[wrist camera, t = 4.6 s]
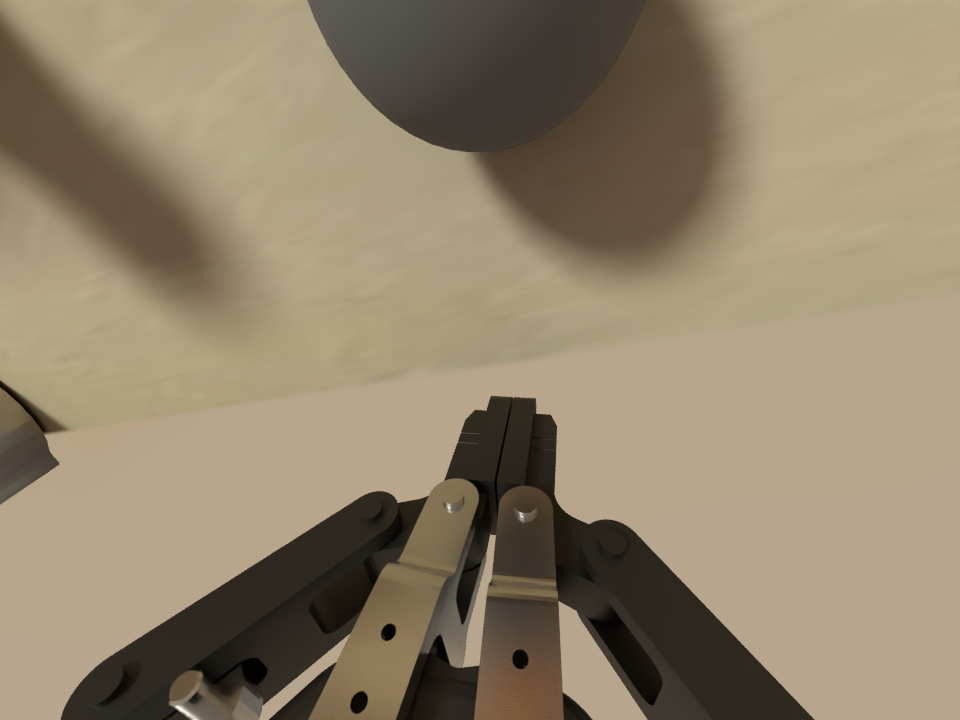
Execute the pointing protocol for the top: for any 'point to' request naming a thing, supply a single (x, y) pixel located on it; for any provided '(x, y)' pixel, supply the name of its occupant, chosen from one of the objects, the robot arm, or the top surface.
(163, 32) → the top surface
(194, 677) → the robot arm
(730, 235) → the top surface
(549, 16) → the gray ball
